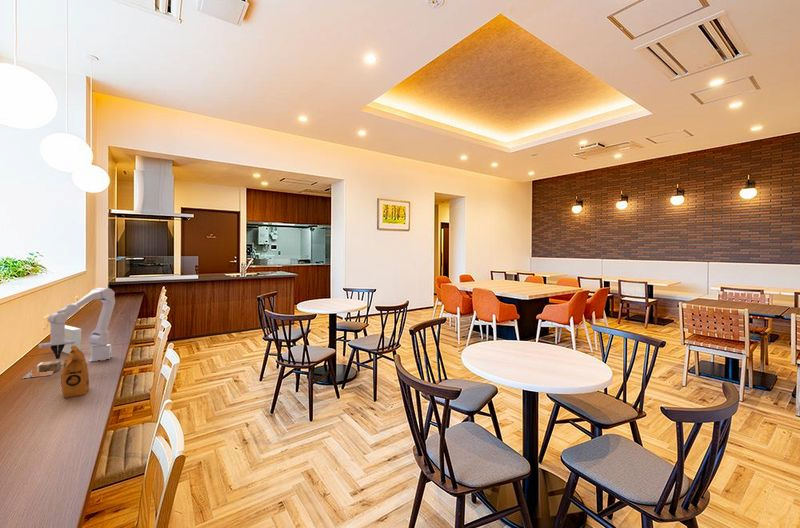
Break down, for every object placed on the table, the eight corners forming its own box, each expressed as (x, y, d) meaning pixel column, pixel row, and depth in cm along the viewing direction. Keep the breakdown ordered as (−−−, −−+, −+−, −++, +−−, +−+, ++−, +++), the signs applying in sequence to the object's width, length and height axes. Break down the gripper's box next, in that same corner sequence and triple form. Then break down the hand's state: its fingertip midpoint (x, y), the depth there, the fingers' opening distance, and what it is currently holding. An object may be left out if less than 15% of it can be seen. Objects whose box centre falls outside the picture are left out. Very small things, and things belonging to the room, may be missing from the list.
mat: (62, 364, 199) (62, 363, 199) (51, 375, 182) (51, 374, 182) (36, 367, 193) (36, 366, 193) (21, 379, 176) (21, 378, 176)
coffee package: (58, 400, 155) (57, 352, 154) (62, 390, 164) (62, 345, 164) (87, 394, 161) (87, 349, 160) (90, 386, 171) (90, 342, 170)
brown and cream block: (60, 360, 193) (41, 362, 189) (57, 363, 188) (36, 365, 184) (60, 367, 193) (41, 369, 189) (57, 370, 188) (37, 372, 184)
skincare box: (82, 352, 221) (81, 328, 220) (71, 354, 216) (71, 330, 215) (66, 347, 230) (65, 324, 229) (55, 349, 225) (55, 326, 224)
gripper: (75, 331, 198) (76, 354, 198) (39, 334, 188) (39, 359, 188) (75, 333, 192) (75, 357, 193) (38, 337, 183) (38, 362, 183)
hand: (57, 358), depth 190 cm, fingers closed
